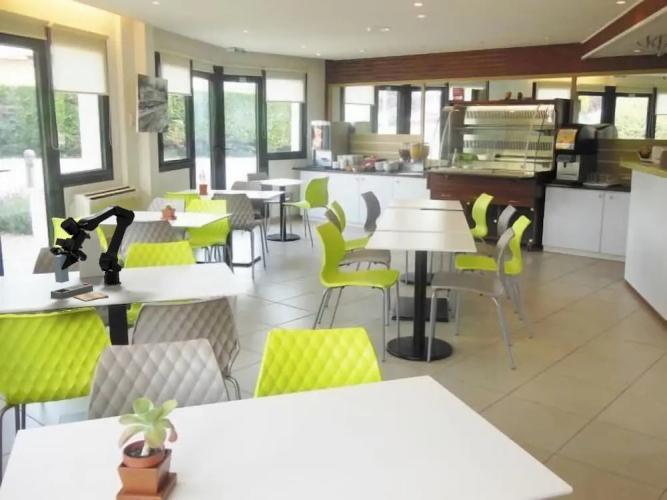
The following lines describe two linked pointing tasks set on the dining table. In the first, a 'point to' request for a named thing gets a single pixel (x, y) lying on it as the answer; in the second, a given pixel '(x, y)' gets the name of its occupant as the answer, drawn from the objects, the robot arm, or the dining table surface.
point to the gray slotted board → (71, 290)
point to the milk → (91, 256)
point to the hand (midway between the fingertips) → (58, 269)
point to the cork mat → (90, 296)
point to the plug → (59, 273)
